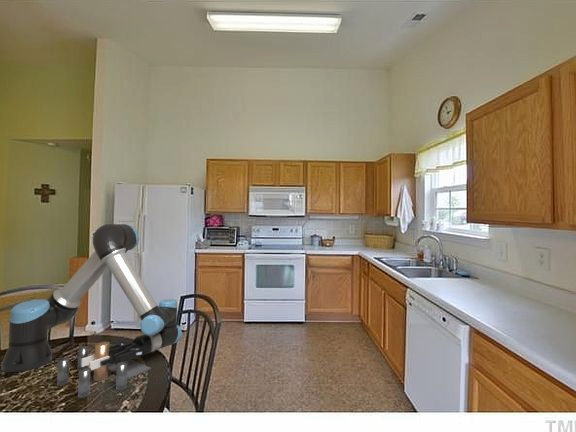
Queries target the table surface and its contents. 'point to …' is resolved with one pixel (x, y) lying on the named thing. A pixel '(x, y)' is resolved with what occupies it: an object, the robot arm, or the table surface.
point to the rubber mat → (130, 368)
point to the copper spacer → (100, 352)
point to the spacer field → (88, 374)
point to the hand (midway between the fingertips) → (85, 364)
